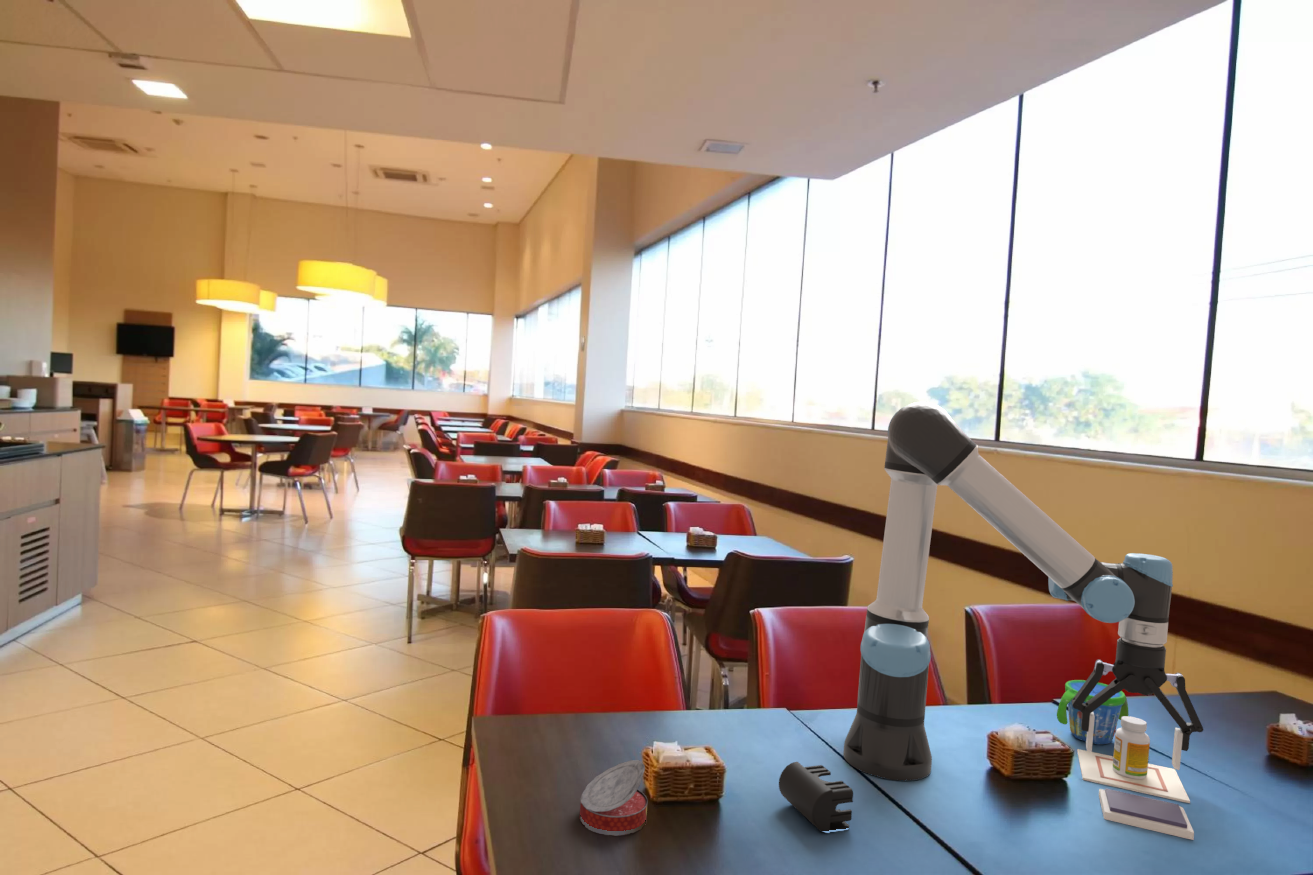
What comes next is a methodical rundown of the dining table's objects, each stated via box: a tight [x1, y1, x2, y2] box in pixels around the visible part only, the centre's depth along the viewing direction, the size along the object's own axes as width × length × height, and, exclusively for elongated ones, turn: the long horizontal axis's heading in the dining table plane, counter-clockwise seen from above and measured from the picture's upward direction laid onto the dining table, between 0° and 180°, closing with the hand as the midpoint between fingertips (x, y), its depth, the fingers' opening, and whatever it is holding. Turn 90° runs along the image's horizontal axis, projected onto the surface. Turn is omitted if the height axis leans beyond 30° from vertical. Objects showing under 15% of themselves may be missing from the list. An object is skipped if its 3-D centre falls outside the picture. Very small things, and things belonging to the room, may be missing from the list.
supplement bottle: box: [1113, 715, 1151, 779], centre depth 144 cm, size 5×5×10 cm
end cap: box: [778, 761, 854, 832], centre depth 122 cm, size 10×7×7 cm
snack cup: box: [1056, 679, 1130, 745], centre depth 161 cm, size 16×10×10 cm
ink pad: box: [1098, 787, 1195, 841], centre depth 129 cm, size 12×9×2 cm
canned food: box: [579, 759, 649, 831], centre depth 118 cm, size 11×10×10 cm
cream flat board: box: [1076, 748, 1191, 804], centre depth 145 cm, size 16×14×1 cm
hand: (1131, 757), depth 145 cm, fingers open, 13 cm apart
